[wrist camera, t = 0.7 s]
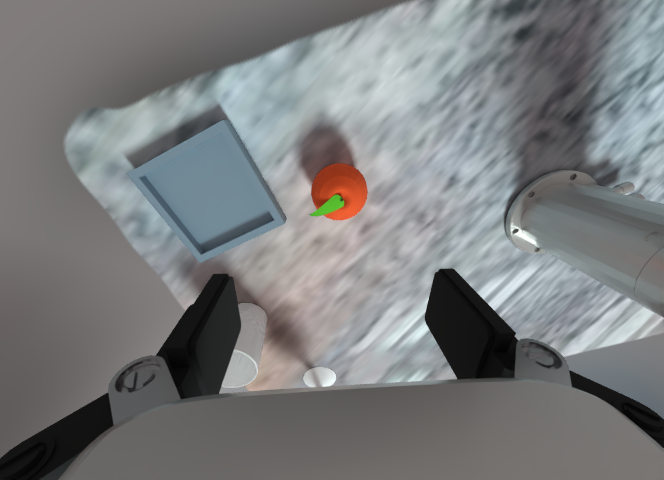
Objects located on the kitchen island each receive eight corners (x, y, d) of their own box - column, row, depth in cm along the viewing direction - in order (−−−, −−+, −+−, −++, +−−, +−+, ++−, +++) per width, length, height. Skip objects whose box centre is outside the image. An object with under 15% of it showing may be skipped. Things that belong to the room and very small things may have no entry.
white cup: (217, 324, 43) (190, 377, 34) (234, 292, 40) (209, 340, 31) (260, 339, 45) (244, 394, 36) (278, 310, 42) (267, 360, 33)
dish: (229, 119, 30) (223, 119, 28) (286, 218, 35) (284, 223, 33) (137, 171, 32) (126, 173, 30) (205, 256, 37) (199, 263, 36)
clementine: (325, 223, 36) (325, 244, 29) (295, 184, 33) (289, 198, 27) (372, 192, 34) (384, 207, 28) (345, 148, 32) (351, 154, 25)
